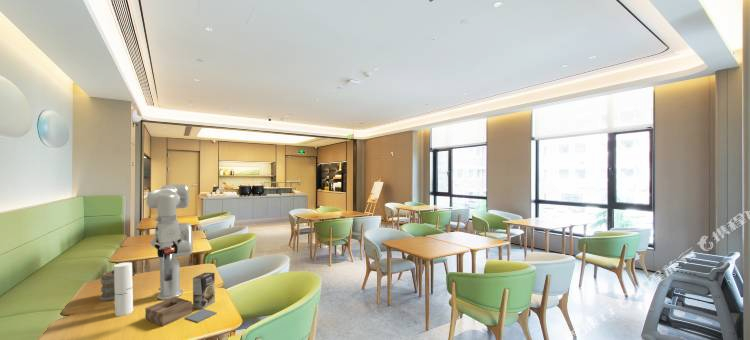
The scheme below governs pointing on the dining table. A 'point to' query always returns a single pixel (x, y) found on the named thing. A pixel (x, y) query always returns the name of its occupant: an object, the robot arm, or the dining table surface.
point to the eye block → (168, 311)
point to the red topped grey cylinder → (168, 262)
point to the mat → (200, 315)
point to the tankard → (108, 286)
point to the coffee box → (203, 290)
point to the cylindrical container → (123, 288)
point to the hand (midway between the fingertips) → (167, 254)
